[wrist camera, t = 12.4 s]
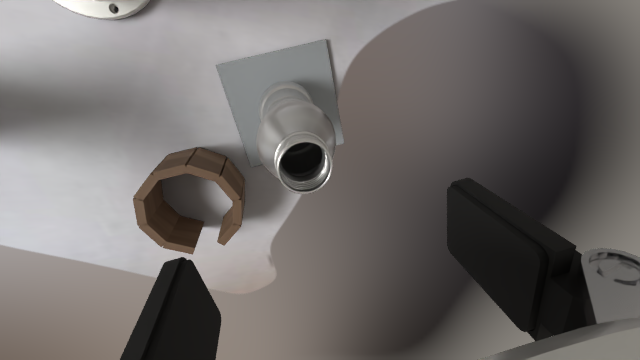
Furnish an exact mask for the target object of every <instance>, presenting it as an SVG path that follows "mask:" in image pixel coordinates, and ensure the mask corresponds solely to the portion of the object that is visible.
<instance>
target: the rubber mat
mask: <svg viewBox="0 0 640 360" xmlns="http://www.w3.org/2000/svg"><path fill="white" fill-rule="evenodd" d="M216 68H217V71H218V73H219V76H220V79H221V82H222V85H223V88H224V91H225V94H226V96H227V99H228V102H229V105H230V108H231V111H232V114H233V117H234V120H235V122H236V125H237V128H238V131H239V134H240V137H241V140H242V143H243V145H244V148H245V151H246V154H247V157H248V160H249V163H250V166H251V167H255V166H258V165H262V164H263V163H262V162H261V160H260V157H259V155H258V152H257V146H256V138H257V133H258V128H259V126H260V123H261V119H260V116H259V104H260V100H261V98H262V95H263V94H264V92H265V91H266V90H267V89H268V88H269V87H270V86H272V85H273V84H275V83H278V82H282V81H290V82H294V83H297V84H299V85H301V86H302V87H303V88H305V89H306V90H307V92H308V93H309V94H310V96H311V98H312V100H313V104H314V105H315V106H317V107H318V108H320V109H321V110H322V111H323V112H324V113H325V114H326V115H327V116H328V117H329V119H330V120H331V122H332V124H333V127H334V130H335V134H336V145H339V144H343V143H344V139H343V133H342V128H341V122H340V117H339V111H338V105H337V99H336V94H335V88H334V83H333V77H332V71H331V66H330V60H329V54H328V49H327V43H326V39H325V40H321V41H317V42H312V43H308V44H304V45H300V46H295V47H291V48H287V49H282V50H278V51H274V52H270V53H265V54H261V55H257V56H253V57H248V58H244V59H240V60H235V61H231V62H227V63H223V64H218V65H216Z"/></svg>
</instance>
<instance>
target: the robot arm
mask: <svg viewBox="0 0 640 360" xmlns="http://www.w3.org/2000/svg"><path fill="white" fill-rule="evenodd" d="M53 1H54V2H56V3H57V4H59V5H60V6H62V7H64V8H66V9H68V10H70V11H72V12H74V13H77V14H80V15H83V16H87V17H90V18H96V19H106V20H115V19H121V18H126V17H128V16H131V15H133V14H136V13H137V12H138V11H140V10H141V9H142V8H144V7H145V6H146V5H147V4H148V2H149V1H150V0H53ZM116 7H118V8H119V12H116ZM447 246H448V249H449V251H450V253H451V254H452V255H453V256H454V257H455V259H456V260H457V261H458V262H459V263H460V264H461V265H462V266H463V267H464V268H465V270H466V271H467V272H468V273H469V274H470V275H471V276H472V277H473V279H474V280H475V281H476V282H477V283H478V284H479V285H480V286H481V287H482V288H483V289H484V291H485V292H486V293H487V294H488V295H489V296H490V297H491V298H492V300H493V301H494V302H495V303H496V304H497V305H498V306H499V307H500V308H501V309H502V311H503V312H504V313H505V314H506V315H507V316H508V317H509V318H510V319H511V321H512V322H513V323H514V324H515V325H516V326H517V327H518V328H519V329H520V330H521V331H524V332H526V331H527V332H528V333H529V334H530V336H531V337H532V338H533V339H534V340H535V342H532V343H529V344H525V345H522V346H519V347H516V348H513V349H510V350H507V351H504V352H500V353H497V354H495V355H491V356H488V357H485V358H482V359H479V360H640V257H638V256H636V255H633V254H630V253H627V252H624V251H620V250H615V249H607V248H598V249H591V250H589V251H586V252H584V254H583V255H582V254H580V253H579V252H577V251H576V250H575V249H576V245H574V244H572V243H571V242H569V241H568V240H566V239H565V238H563V237H561V236H560V235H558V234H557V233H555V232H553V231H552V230H550V229H549V228H547V227H545V226H544V225H543V224H541V223H540V222H538V221H536V220H535V219H533V218H531V217H530V216H528V215H527V214H525V213H524V212H522V211H521V210H519V209H518V208H516V207H514V206H513V205H511V204H510V203H508V202H507V201H505V200H503V199H502V198H500V197H499V196H497V195H496V194H494V193H493V192H491V191H489V190H488V189H486V188H485V187H483V186H482V185H480V184H478V183H477V182H475V181H474V180H472V179H470V178H465V179H461V180H458V181H454V182H452V184H451V186H450V187H448V189H447ZM220 326H221V314H220V311H219V309H218V308H217V306H216V304H215V302H214V300H213V299H212V296H211V295H210V293H209V291H208V289H207V287H206V285H205V284H204V282H203V280H202V278H201V276H200V274H199V272H198V271H197V269H196V267H195V265H194V263H193V262H192V261H191V260H186V258H184V257H181V258H178V259H174V260H171V261H167V262H165V263H164V265H163V267H162V269H161V271H160V273H159V275H158V278H157V280H156V282H155V284H154V286H153V288H152V291H151V293H150V295H149V297H148V299H147V301H146V304H145V306H144V308H143V310H142V313H141V315H140V317H139V319H138V321H137V324H136V326H135V328H134V330H133V332H132V334H131V336H130V339H129V341H128V343H127V345H126V348H125V349H124V352H123V354H122V356H121V358H120V360H215V359H216V352H217V346H218V339H219V333H220ZM551 336H552V337H551ZM548 337H549V338H548Z"/></svg>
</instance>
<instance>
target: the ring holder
mask: <svg viewBox="0 0 640 360" xmlns="http://www.w3.org/2000/svg"><path fill="white" fill-rule="evenodd" d="M185 173H188V174H192V175H195V176H198V177H202V178H205V179H208V180H212V181H215V182H216V183H217V184H218V185H219V186H220V187H221V189H222V190H223V191H224V192H225V193H226V194H227V196H228V197H229V198H230V199H231V200H232V201H233V206H232V207H231V209H230V210H229V211H228V212H227V213H226V214H225V216H224V217H223V221H222V225H221V229H220V233H219V237H218V241H217V242H218V243H220V244H222V245H225V244H226V243H227V242H228V241H229V240H230V238H231V237H232V236H233V235H234V234H235V233H236V232H237V230H238V229H239V228H240V227H241V225H242V218H243V210H244V203H245V179H244V177H243V176H242V174H241V173H240V172H239V171H238V169H237V168H236V167H235V166H234V165H233V163H232V162H231V161H230V160H229V158H226V156H223V155H220V154H217V153H214V152H211V151H208V150H205V149H202V148H198V149H197V147H196V148H192V149H188V150H184V151H180V152H176V153H172V154H169V155H167V156H166V157H165V158H164V160H163V161H162V162H161V163H160V164H159V165H158V166H157V167H156V168H155V169H154V170H153V172H152V173H151V174H150V175H149V176H148V178H147V179H146V180H145V182H144V183H143V184H142V186H141V187H140V189H139V190H138V191H137V193H136V194H135V195H134V198H133V202H134V208H135V213H136V219H137V225H138V226H139V228H140V229H141V230H142V231H143V232H145V233H146V234H147V235H148V236H149V237H150V238H151V239H153V240H154V241H155V242H156V243H157V244H158V245H159V246H160V247H162V246H163V245H164V246H163V248H166V249H170V250H175V251H180V252H184V253H189V254H193V252H194V250H195V247H196V244H197V241H198V238H199V236H200V233H201V230H202V227H203V224H204V222H203V221H199V220H195V219H191V218H187V217H183V216H180V215H179V214H178V213H177V212H176V211H175V210H174V209H173V208H172V207H171V206H170V205H169V204H167V203H166V202H165V201H164V199H163V192H162V184H161V179H165V178H169V177H173V176H177V175H181V174H185Z"/></svg>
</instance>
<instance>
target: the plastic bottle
mask: <svg viewBox="0 0 640 360" xmlns="http://www.w3.org/2000/svg"><path fill="white" fill-rule="evenodd" d="M259 116H260V119H261V123H260V126H259V128H258V133H257V138H256V146H257V152H258V155H259V157H260V160H261V162H262V163H263V165H264V166H265V167H266V168H267V169H268V171H269V172H270V173H271V174H273V175H274V176H275V177H277V178H278V179H279V180H280V181H281V183H282V184H283V185H284V186H285V187H286V188H287V189H288V190H290V191H292V192H294V193H298V194H309V193H313V192H316V191H317V190H319V189H321V188H322V187H323V186H324V185H325V184H326V183H327V182H328V180H329V178H330V176H331V173H332V169H333V162H332V159H333V156H334V152H335V146H336V134H335V130H334V127H333V124H332V122H331V120H330V119H329V117H328V116H327V115H326V114H325V113H324V112H323V111H322V110H321V109H320V108H318V107H317V106H315V105H314V104H313V100H312V98H311V96H310V94H309V93H308V92H307V90H306V89H305V88H303V87H302V86H301V85H299V84H297V83H294V82H290V81H282V82H278V83H275V84H273V85H272V86H270V87H269V88H268V89H267V90H266V91H265V92H264V94H263V95H262V98H261V100H260V104H259Z"/></svg>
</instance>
